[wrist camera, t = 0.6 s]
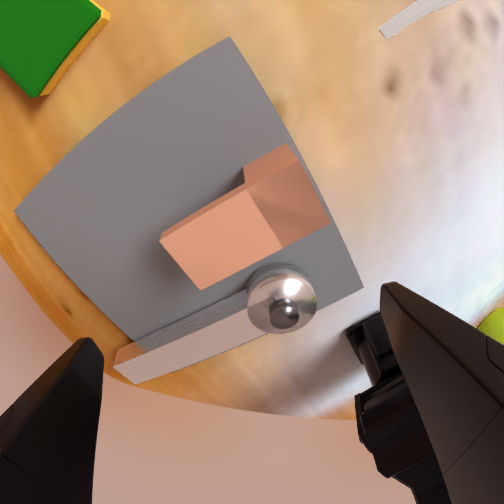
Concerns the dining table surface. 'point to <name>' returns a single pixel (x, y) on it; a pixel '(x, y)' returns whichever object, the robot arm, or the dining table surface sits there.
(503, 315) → the soap dispenser
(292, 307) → the lever
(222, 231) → the block
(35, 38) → the dish sponge
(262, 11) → the dining table surface
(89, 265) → the base plate
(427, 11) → the butter knife
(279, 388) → the dining table surface
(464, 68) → the dining table surface
